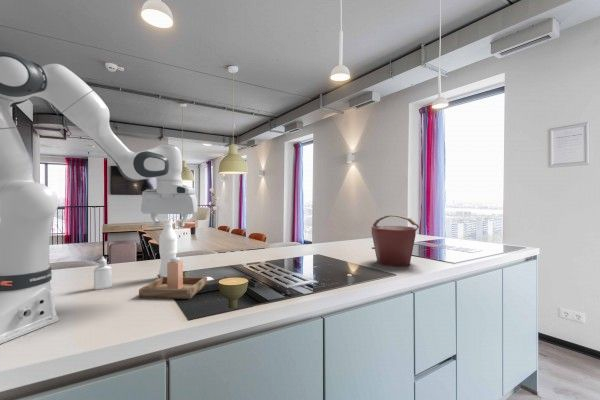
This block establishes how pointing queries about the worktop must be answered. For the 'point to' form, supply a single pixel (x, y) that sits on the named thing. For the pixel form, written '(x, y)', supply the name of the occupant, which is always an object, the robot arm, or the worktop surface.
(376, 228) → the bucket
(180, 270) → the shaker
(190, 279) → the tray
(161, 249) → the water bottle
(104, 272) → the eye dropper bottle
